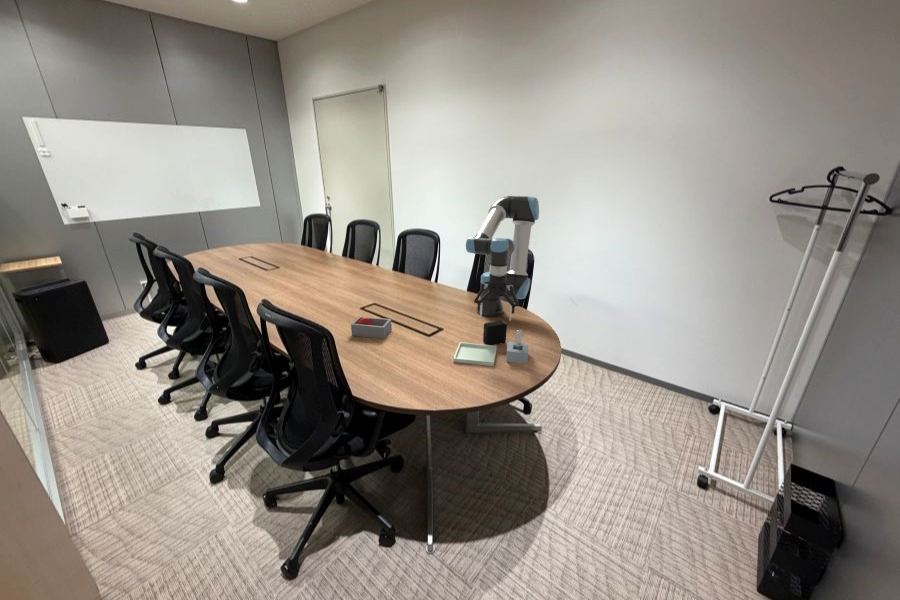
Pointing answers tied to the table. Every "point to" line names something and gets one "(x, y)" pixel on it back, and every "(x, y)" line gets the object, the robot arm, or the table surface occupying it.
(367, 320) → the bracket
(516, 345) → the cylinder
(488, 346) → the tray
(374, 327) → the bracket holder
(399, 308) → the table surface
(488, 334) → the electronic device
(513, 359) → the square hole cube
